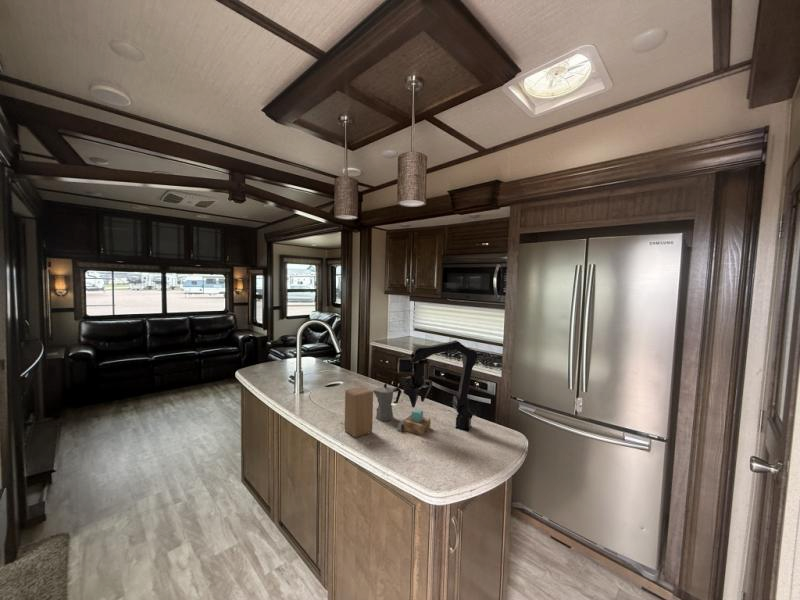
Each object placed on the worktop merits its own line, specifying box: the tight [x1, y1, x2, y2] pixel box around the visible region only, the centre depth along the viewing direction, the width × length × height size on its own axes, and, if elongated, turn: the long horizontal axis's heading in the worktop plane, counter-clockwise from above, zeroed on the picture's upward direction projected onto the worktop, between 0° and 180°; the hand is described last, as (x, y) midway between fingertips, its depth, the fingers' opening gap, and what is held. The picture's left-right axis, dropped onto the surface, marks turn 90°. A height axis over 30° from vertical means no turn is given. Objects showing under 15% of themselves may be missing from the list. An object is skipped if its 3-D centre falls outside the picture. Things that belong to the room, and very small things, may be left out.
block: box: [344, 385, 374, 438], centre depth 150 cm, size 10×10×20 cm
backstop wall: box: [397, 414, 412, 433], centre depth 157 cm, size 2×14×4 cm, turn 149°
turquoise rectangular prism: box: [411, 408, 424, 423], centre depth 154 cm, size 4×4×9 cm
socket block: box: [403, 415, 432, 436], centre depth 154 cm, size 10×10×4 cm
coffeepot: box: [372, 383, 402, 422], centre depth 167 cm, size 15×9×18 cm, turn 107°
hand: (417, 404), depth 154 cm, fingers open, 9 cm apart
